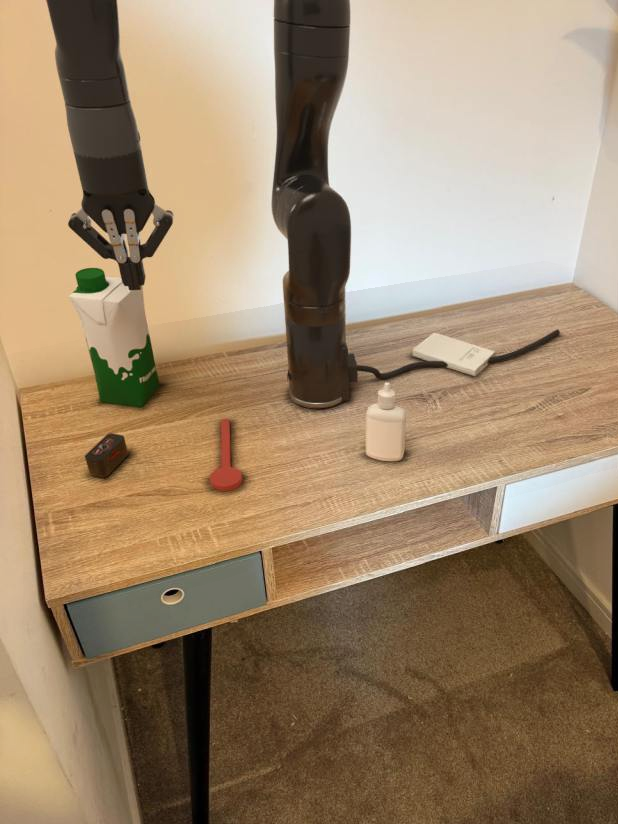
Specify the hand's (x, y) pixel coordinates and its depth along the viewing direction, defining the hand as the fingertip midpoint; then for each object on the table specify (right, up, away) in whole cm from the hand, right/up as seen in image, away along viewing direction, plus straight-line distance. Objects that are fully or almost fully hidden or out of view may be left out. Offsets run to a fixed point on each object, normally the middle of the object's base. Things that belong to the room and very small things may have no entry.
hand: (135, 287), depth 97 cm
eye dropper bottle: (+33, -21, +12) cm, 41 cm away
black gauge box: (-7, -22, +9) cm, 25 cm away
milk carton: (-9, -10, +23) cm, 27 cm away
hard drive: (+45, -2, +35) cm, 57 cm away
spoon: (+10, -22, +10) cm, 26 cm away
